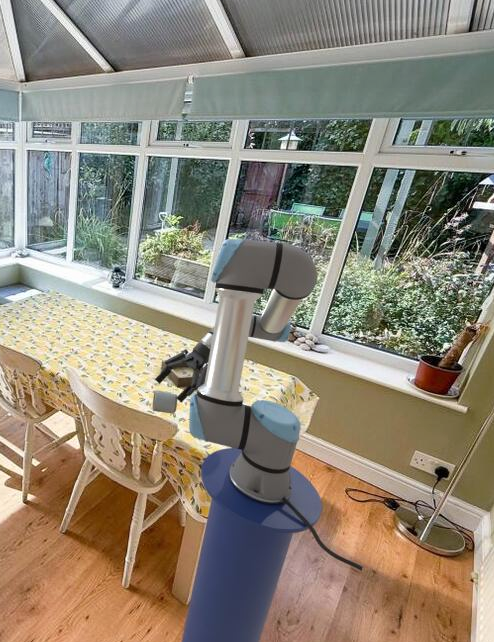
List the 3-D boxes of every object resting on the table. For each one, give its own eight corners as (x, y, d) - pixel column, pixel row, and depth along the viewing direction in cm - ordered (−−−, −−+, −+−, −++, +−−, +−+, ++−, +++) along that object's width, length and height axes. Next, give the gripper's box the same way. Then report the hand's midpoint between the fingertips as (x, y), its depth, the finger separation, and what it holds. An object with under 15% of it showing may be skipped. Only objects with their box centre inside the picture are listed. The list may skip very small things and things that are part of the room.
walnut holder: (213, 385, 169) (215, 375, 167) (176, 388, 166) (178, 377, 164) (194, 367, 184) (195, 358, 182) (160, 369, 181) (162, 360, 179)
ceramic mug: (175, 418, 146) (178, 399, 144) (152, 415, 148) (154, 396, 145) (173, 401, 156) (176, 384, 153) (151, 399, 157) (153, 381, 155)
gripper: (236, 369, 140) (194, 414, 141) (191, 340, 162) (154, 379, 162) (227, 357, 137) (183, 403, 137) (181, 329, 159) (144, 369, 159)
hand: (167, 390), depth 150 cm, fingers open, 13 cm apart
